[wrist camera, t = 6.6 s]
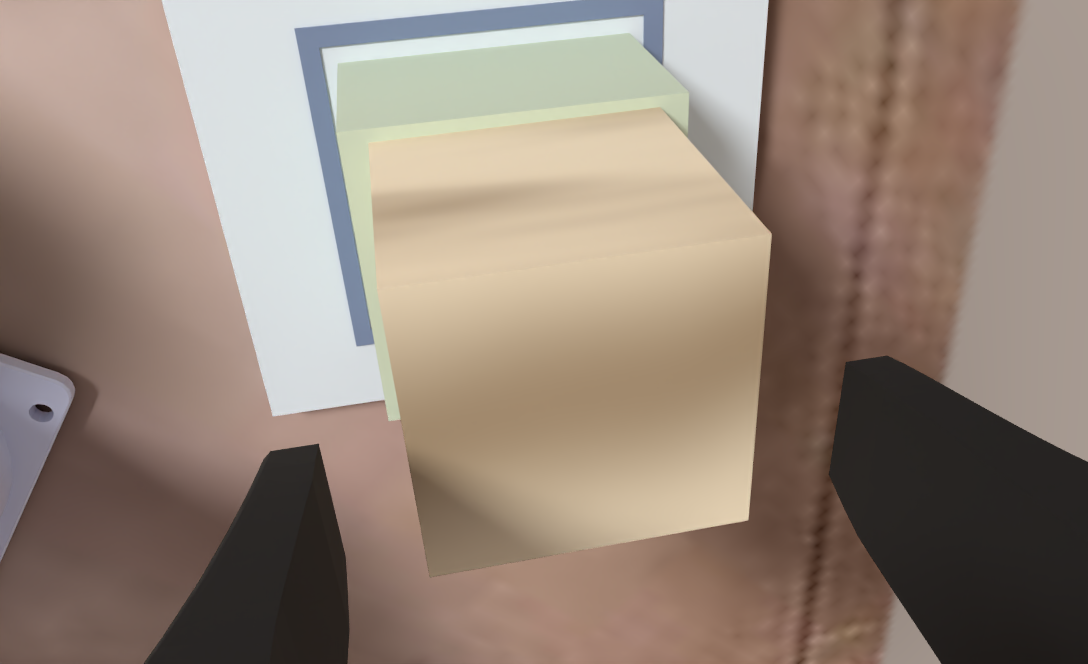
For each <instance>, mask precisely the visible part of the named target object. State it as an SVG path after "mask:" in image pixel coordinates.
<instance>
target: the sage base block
mask: <svg viewBox="0 0 1088 664" xmlns="http://www.w3.org/2000/svg"><path fill="white" fill-rule="evenodd" d="M656 107H661V109H662V110H663V111H664V112H665V113H666V114H667V115H668V117H669V118H670V119H671V120H672V121H673V122H674V123H675V125H676V126H677V127H678V128H679V129H680V130H681V131H682V132H683V134H684V135H685V136H686V137H687V138H688V115H689V92H688V91H687V90H686V89H685V88H684V87H683V86H682V85H681V84H680V83H679V82H678V81H677V80H676V79H675V78H674V77H673V76H672V75H671V74H670V73H669V72H668V71H667V70H666V69H665V68H664V67H663V66H662V65H661V64H660V63H659V62H658V61H657V60H656V59H655V58H654V57H653V56H652V55H651V54H650V53H649V52H648V51H647V50H646V49H645V48H644V47H643V46H642V45H641V44H640V43H639V42H638V41H637V40H636V39H635V38H634V37H633V36H632V35H631V34H630V33H624V34H614V35H604V36H595V37H585V38H576V39H566V40H556V41H547V42H537V43H528V44H518V45H508V46H499V47H489V48H480V49H470V50H460V51H451V52H441V53H432V54H422V55H412V56H403V57H393V58H383V59H374V60H364V61H355V62H345V63H338V69H337V113H336V135H337V140H338V146H339V151H340V157H341V162H342V168H343V173H344V179H345V184H346V190H347V195H348V201H349V206H350V212H351V217H352V223H353V228H354V234H355V239H356V244H357V250H358V255H359V261H360V266H361V272H362V277H363V283H364V288H365V294H366V299H367V305H368V310H369V316H370V321H371V327H372V332H373V338H374V343H375V349H376V354H377V360H378V365H379V371H380V376H381V382H382V387H383V393H384V398H385V404H386V409H387V414H388V420H389V421H393V420H400V419H401V418H400V413H399V407H398V402H397V396H396V391H395V385H394V380H393V374H392V369H391V364H390V358H389V353H388V347H387V342H386V336H385V331H384V325H383V320H382V314H381V309H380V303H379V298H378V293H377V282H376V265H375V248H374V231H373V215H372V198H371V181H370V164H369V147H368V143H370V142H378V141H387V140H395V139H403V138H411V137H419V136H428V135H436V134H444V133H452V132H460V131H468V130H477V129H485V128H493V127H501V126H509V125H517V124H526V123H534V122H542V121H550V120H558V119H567V118H575V117H583V116H591V115H599V114H607V113H616V112H624V111H632V110H640V109H648V108H656Z"/></svg>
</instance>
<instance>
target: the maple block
mask: <svg viewBox="0 0 1088 664" xmlns="http://www.w3.org/2000/svg"><path fill="white" fill-rule="evenodd" d="M368 147H369V164H370V181H371V198H372V215H373V231H374V248H375V265H376V282H377V293H378V298H379V303H380V309H381V314H382V320H383V325H384V331H385V336H386V342H387V347H388V353H389V358H390V364H391V369H392V374H393V380H394V385H395V391H396V396H397V402H398V407H399V413H400V418H401V424H402V429H403V435H404V440H405V445H406V451H407V456H408V462H409V467H410V473H411V478H412V484H413V489H414V495H415V500H416V506H417V511H418V516H419V522H420V527H421V533H422V538H423V544H424V549H425V555H426V560H427V566H428V571H429V577H435V576H441V575H446V574H452V573H458V572H463V571H469V570H474V569H480V568H485V567H491V566H497V565H502V564H508V563H513V562H519V561H525V560H530V559H536V558H541V557H547V556H552V555H558V554H564V553H569V552H575V551H580V550H586V549H591V548H597V547H603V546H608V545H614V544H619V543H625V542H630V541H636V540H642V539H647V538H653V537H658V536H664V535H669V534H675V533H681V532H686V531H692V530H697V529H703V528H708V527H714V526H720V525H725V524H731V523H736V522H742V521H748V518H749V506H750V494H751V482H752V470H753V457H754V445H755V433H756V421H757V409H758V396H759V384H760V372H761V360H762V348H763V335H764V323H765V311H766V299H767V287H768V274H769V262H770V250H771V238H772V234H771V232H770V231H769V230H768V229H767V228H766V227H765V226H764V224H763V223H762V222H761V221H760V220H759V219H758V218H757V217H756V215H755V214H754V213H753V212H752V211H751V210H750V209H749V207H748V206H747V205H746V204H745V203H744V202H743V201H742V199H741V198H740V197H739V196H738V195H737V194H736V193H735V192H734V190H733V189H732V188H731V187H730V186H729V185H728V184H727V182H726V181H725V180H724V179H723V178H722V177H721V176H720V175H719V173H718V172H717V171H716V170H715V169H714V168H713V167H712V165H711V164H710V163H709V162H708V161H707V160H706V159H705V157H704V156H703V155H702V154H701V153H700V152H699V151H698V150H697V148H696V147H695V146H694V145H693V144H692V143H691V142H690V140H689V139H688V138H687V137H686V136H685V135H684V134H683V132H682V131H681V130H680V129H679V128H678V127H677V126H676V125H675V123H674V122H673V121H672V120H671V119H670V118H669V117H668V115H667V114H666V113H665V112H664V111H663V110H662V109H661V107H656V108H648V109H640V110H632V111H624V112H616V113H607V114H599V115H591V116H583V117H575V118H567V119H558V120H550V121H542V122H534V123H526V124H517V125H509V126H501V127H493V128H485V129H477V130H468V131H460V132H452V133H444V134H436V135H428V136H419V137H411V138H403V139H395V140H387V141H378V142H370V143H368Z"/></svg>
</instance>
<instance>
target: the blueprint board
mask: <svg viewBox="0 0 1088 664" xmlns="http://www.w3.org/2000/svg"><path fill="white" fill-rule="evenodd" d="M768 1H769V0H162V4H163V7H164V11H165V15H166V18H167V22H168V26H169V30H170V33H171V37H172V41H173V45H174V48H175V52H176V56H177V60H178V63H179V67H180V71H181V75H182V78H183V82H184V86H185V89H186V93H187V97H188V101H189V104H190V108H191V112H192V116H193V119H194V123H195V127H196V131H197V134H198V138H199V142H200V146H201V149H202V153H203V157H204V161H205V164H206V168H207V172H208V175H209V179H210V183H211V187H212V190H213V194H214V198H215V202H216V205H217V209H218V213H219V217H220V220H221V224H222V228H223V232H224V235H225V239H226V243H227V246H228V250H229V254H230V258H231V261H232V265H233V269H234V273H235V276H236V280H237V284H238V288H239V291H240V295H241V299H242V303H243V306H244V310H245V314H246V317H247V321H248V325H249V329H250V332H251V336H252V340H253V344H254V347H255V351H256V355H257V359H258V362H259V366H260V370H261V374H262V377H263V381H264V385H265V388H266V392H267V396H268V400H269V403H270V407H271V411H272V415H273V416H279V415H286V414H292V413H299V412H306V411H312V410H319V409H326V408H333V407H339V406H346V405H353V404H359V403H366V402H373V401H379V400H385V398H384V393H383V387H382V382H381V376H380V371H379V365H378V360H377V354H376V349H375V343H374V338H373V332H372V327H371V321H370V316H369V310H368V305H367V299H366V294H365V288H364V283H363V277H362V272H361V266H360V261H359V255H358V250H357V244H356V239H355V234H354V228H353V223H352V217H351V212H350V206H349V201H348V195H347V190H346V184H345V179H344V173H343V168H342V162H341V157H340V151H339V146H338V140H337V135H336V113H337V69H338V63H345V62H355V61H364V60H374V59H383V58H393V57H403V56H412V55H422V54H432V53H441V52H451V51H460V50H470V49H480V48H489V47H499V46H508V45H518V44H528V43H537V42H547V41H556V40H566V39H576V38H585V37H595V36H604V35H614V34H624V33H630V34H631V35H632V36H633V37H634V38H635V39H636V40H637V41H638V42H639V43H640V44H641V45H642V46H643V47H644V48H645V49H646V50H647V51H648V52H649V53H650V54H651V55H652V56H653V57H654V58H655V59H656V60H657V61H658V62H659V63H660V64H661V65H662V66H663V67H664V68H665V69H666V70H667V71H668V72H669V73H670V74H671V75H672V76H673V77H674V78H675V79H676V80H677V81H678V82H679V83H680V84H681V85H682V86H683V87H684V88H685V89H686V90H687V91H688V92H689V115H688V139H689V140H690V142H691V143H692V144H693V145H694V146H695V147H696V148H697V150H698V151H699V152H700V153H701V154H702V155H703V156H704V157H705V159H706V160H707V161H708V162H709V163H710V164H711V165H712V167H713V168H714V169H715V170H716V171H717V172H718V173H719V175H720V176H721V177H722V178H723V179H724V180H725V181H726V182H727V184H728V185H729V186H730V187H731V188H732V189H733V190H734V192H735V193H736V194H737V195H738V196H739V197H740V198H741V199H742V201H743V202H744V203H745V204H746V205H747V206H748V207H749V209H750V210H751V211H753V198H754V185H755V172H756V159H757V146H758V133H759V119H760V106H761V93H762V80H763V67H764V54H765V41H766V28H767V14H768Z"/></svg>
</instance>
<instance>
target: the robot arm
mask: <svg viewBox="0 0 1088 664" xmlns="http://www.w3.org/2000/svg"><path fill="white" fill-rule="evenodd" d="M74 394H75V387H74V385H73V382H72V381H71V380H70V379H69V378H68V377H67V376H65V375H63V374H61V373H58V372H55V371H52V370H49V369H46V368H43V367H40V366H37V365H34V364H31V363H28V362H25V361H22V360H19V359H16V358H13V357H10V356H7V355H4V354H1V353H0V562H1V560H2V557H3V555H4V553H5V551H6V548H7V546H8V544H9V542H10V539H11V537H12V535H13V533H14V530H15V528H16V526H17V524H18V521H19V519H20V517H21V515H22V513H23V510H24V508H25V506H26V504H27V501H28V499H29V497H30V495H31V492H32V490H33V488H34V486H35V483H36V481H37V479H38V477H39V474H40V472H41V470H42V468H43V465H44V463H45V461H46V459H47V456H48V454H49V452H50V450H51V447H52V445H53V443H54V441H55V438H56V436H57V434H58V432H59V429H60V427H61V425H62V423H63V421H64V418H65V416H66V414H67V412H68V409H69V407H70V405H71V403H72V400H73V398H74ZM36 404H43V405H46V406H48V407H50V408H51V409H52V411H51V412H42V411H40V410H39V409H37V408H36V407H35V405H36ZM829 476H830V478H831V480H832V483H833V485H834V487H835V489H836V491H837V494H838V496H839V498H840V500H841V502H842V504H843V507H844V509H845V511H846V513H847V515H848V517H849V519H850V521H851V523H852V525H853V527H854V529H855V531H856V533H857V535H858V537H859V539H860V540H861V542H862V543H863V545H864V546H865V548H866V550H867V551H868V553H869V554H870V556H871V557H872V559H873V561H874V562H875V564H876V565H877V567H878V568H879V570H880V571H881V573H882V574H883V576H884V577H885V579H886V581H887V582H888V584H889V585H890V587H891V588H892V590H893V591H894V593H895V594H896V596H897V597H898V599H899V600H900V602H901V603H902V605H903V606H904V608H905V609H906V611H907V612H908V614H909V615H910V617H911V618H912V620H913V621H914V623H915V624H916V626H917V627H918V629H919V630H920V632H921V633H922V635H923V636H924V638H925V639H926V640H927V642H928V644H929V645H930V647H931V648H932V650H933V651H934V653H935V654H936V656H937V657H938V659H939V661H940V662H941V664H1088V462H1087V461H1085V460H1082V459H1081V458H1079V457H1076V456H1074V455H1072V454H1070V453H1068V452H1066V451H1064V450H1062V449H1060V448H1058V447H1056V446H1054V445H1052V444H1050V443H1048V442H1047V441H1044V440H1042V439H1041V438H1039V437H1037V436H1035V435H1033V434H1031V433H1029V432H1027V431H1026V430H1024V429H1022V428H1020V427H1018V426H1016V425H1014V424H1012V423H1011V422H1009V421H1007V420H1005V419H1003V418H1002V417H999V416H998V415H996V414H994V413H992V412H991V411H989V410H987V409H985V408H983V407H981V406H980V405H978V404H976V403H974V402H973V401H971V400H969V399H967V398H965V397H964V396H962V395H960V394H958V393H956V392H955V391H953V390H951V389H949V388H948V387H946V386H944V385H942V384H940V383H939V382H937V381H935V380H933V379H931V378H930V377H928V376H926V375H924V374H922V373H920V372H919V371H917V370H915V369H913V368H911V367H909V366H907V365H905V364H903V363H901V362H899V361H897V360H895V359H893V358H891V357H889V356H883V357H876V358H870V359H863V360H857V361H850V362H846V365H845V371H844V378H843V385H842V391H841V398H840V405H839V411H838V418H837V424H836V431H835V438H834V444H833V451H832V458H831V464H830V471H829ZM348 644H349V610H348V590H347V572H346V557H345V552H344V548H343V544H342V540H341V536H340V531H339V527H338V523H337V519H336V515H335V510H334V506H333V502H332V498H331V494H330V489H329V485H328V481H327V477H326V473H325V468H324V464H323V460H322V456H321V452H320V448H319V444H314V445H308V446H301V447H295V448H288V449H282V450H276V451H270V453H269V454H268V455H267V456H266V457H265V458H264V460H263V462H262V464H261V466H260V468H259V471H258V473H257V475H256V477H255V479H254V481H253V483H252V485H251V488H250V490H249V492H248V494H247V496H246V498H245V500H244V502H243V504H242V506H241V507H240V509H239V511H238V513H237V515H236V517H235V519H234V521H233V523H232V524H231V526H230V528H229V530H228V532H227V534H226V535H225V537H224V539H223V541H222V542H221V544H220V546H219V548H218V549H217V551H216V553H215V555H214V556H213V558H212V560H211V562H210V563H209V565H208V567H207V569H206V570H205V572H204V574H203V575H202V577H201V579H200V580H199V582H198V584H197V585H196V587H195V588H194V590H193V591H192V593H191V594H190V596H189V598H188V599H187V601H186V602H185V604H184V605H183V607H182V608H181V610H180V611H179V613H178V614H177V616H176V617H175V619H174V621H173V622H172V624H171V625H170V627H169V628H168V630H167V631H166V633H165V634H164V636H163V637H162V639H161V640H160V642H159V643H158V644H157V646H156V647H155V649H154V650H153V651H152V653H151V654H150V656H149V657H148V658H147V660H146V661H145V662H144V664H347V660H348Z"/></svg>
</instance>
